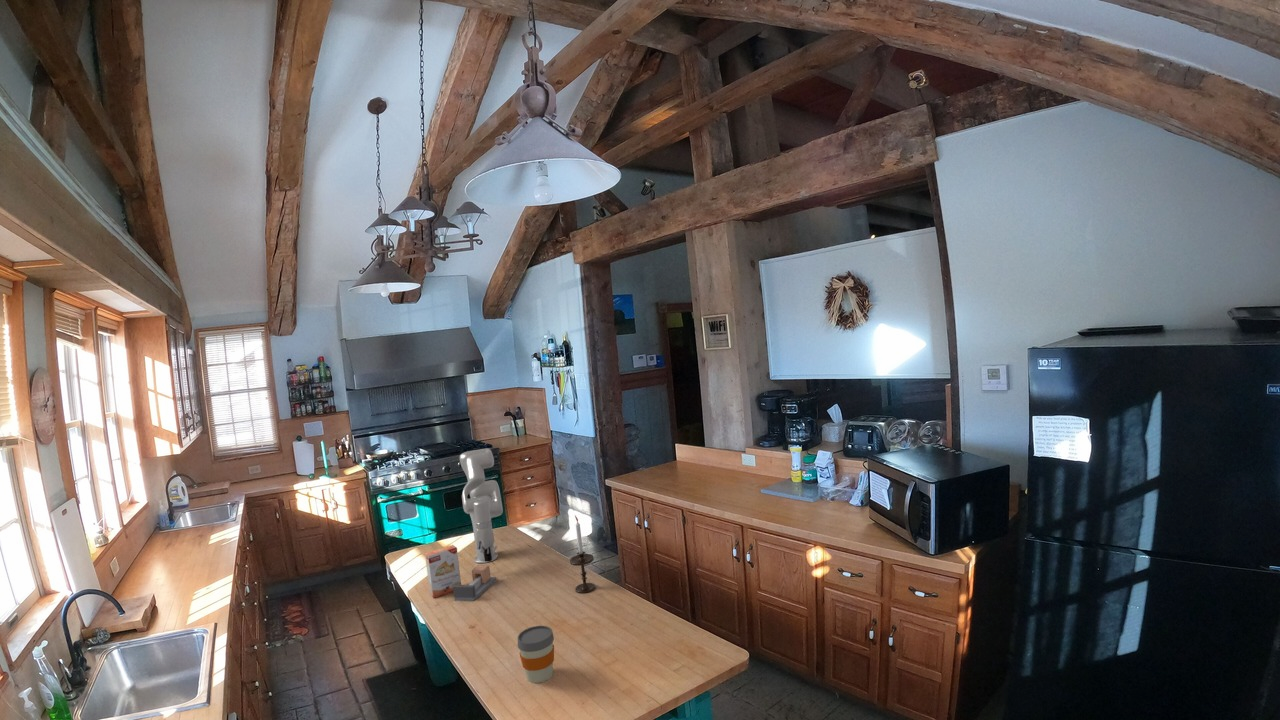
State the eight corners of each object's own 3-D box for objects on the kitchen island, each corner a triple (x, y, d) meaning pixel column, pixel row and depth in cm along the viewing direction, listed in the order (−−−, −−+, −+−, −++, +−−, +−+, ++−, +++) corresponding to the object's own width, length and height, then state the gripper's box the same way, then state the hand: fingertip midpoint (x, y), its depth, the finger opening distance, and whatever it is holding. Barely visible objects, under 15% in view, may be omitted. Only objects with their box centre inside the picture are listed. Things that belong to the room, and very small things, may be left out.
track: (478, 579, 304) (477, 567, 304) (496, 579, 302) (495, 567, 301) (454, 600, 283) (452, 587, 283) (473, 600, 280) (472, 587, 280)
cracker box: (433, 598, 288) (427, 555, 286) (429, 595, 293) (424, 552, 291) (462, 588, 296) (457, 546, 294) (458, 585, 301) (453, 543, 299)
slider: (479, 578, 302) (477, 565, 301) (490, 578, 300) (489, 565, 300) (473, 583, 296) (471, 570, 296) (484, 583, 294) (483, 570, 294)
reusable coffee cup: (559, 663, 220) (554, 623, 219) (556, 683, 208) (550, 641, 207) (524, 667, 220) (519, 627, 219) (519, 688, 207) (513, 646, 206)
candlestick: (570, 594, 276) (561, 519, 274) (578, 583, 287) (569, 511, 285) (592, 594, 274) (584, 518, 271) (600, 583, 284) (591, 510, 282)
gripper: (484, 520, 312) (489, 555, 313) (469, 530, 298) (474, 566, 298) (497, 519, 310) (502, 555, 311) (483, 529, 296) (487, 566, 296)
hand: (488, 560), depth 305 cm, fingers closed
